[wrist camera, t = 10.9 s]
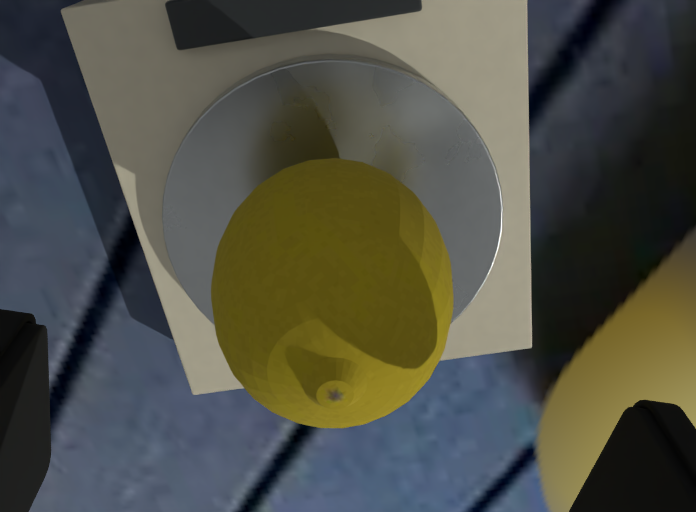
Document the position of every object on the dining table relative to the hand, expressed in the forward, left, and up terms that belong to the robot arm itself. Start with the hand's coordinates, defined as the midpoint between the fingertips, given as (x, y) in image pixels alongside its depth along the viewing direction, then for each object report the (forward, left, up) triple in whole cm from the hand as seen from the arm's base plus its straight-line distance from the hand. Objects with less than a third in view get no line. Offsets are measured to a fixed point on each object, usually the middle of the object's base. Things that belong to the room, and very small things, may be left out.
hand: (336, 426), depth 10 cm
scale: (0, 0, -12) cm, 12 cm away
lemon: (0, 0, -9) cm, 9 cm away
